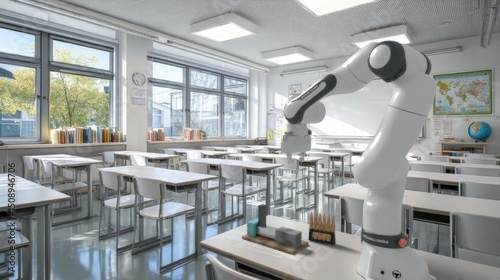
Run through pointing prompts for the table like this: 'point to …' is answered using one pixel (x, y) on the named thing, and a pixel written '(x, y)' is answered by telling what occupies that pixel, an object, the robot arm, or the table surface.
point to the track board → (281, 240)
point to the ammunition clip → (322, 229)
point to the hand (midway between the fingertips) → (296, 162)
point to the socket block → (252, 227)
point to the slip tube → (264, 223)
